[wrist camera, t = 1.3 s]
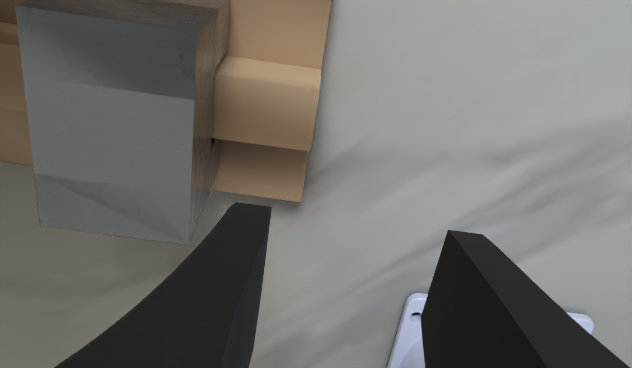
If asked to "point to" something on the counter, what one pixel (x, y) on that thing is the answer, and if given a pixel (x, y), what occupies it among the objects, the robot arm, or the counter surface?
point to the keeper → (122, 112)
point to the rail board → (243, 37)
